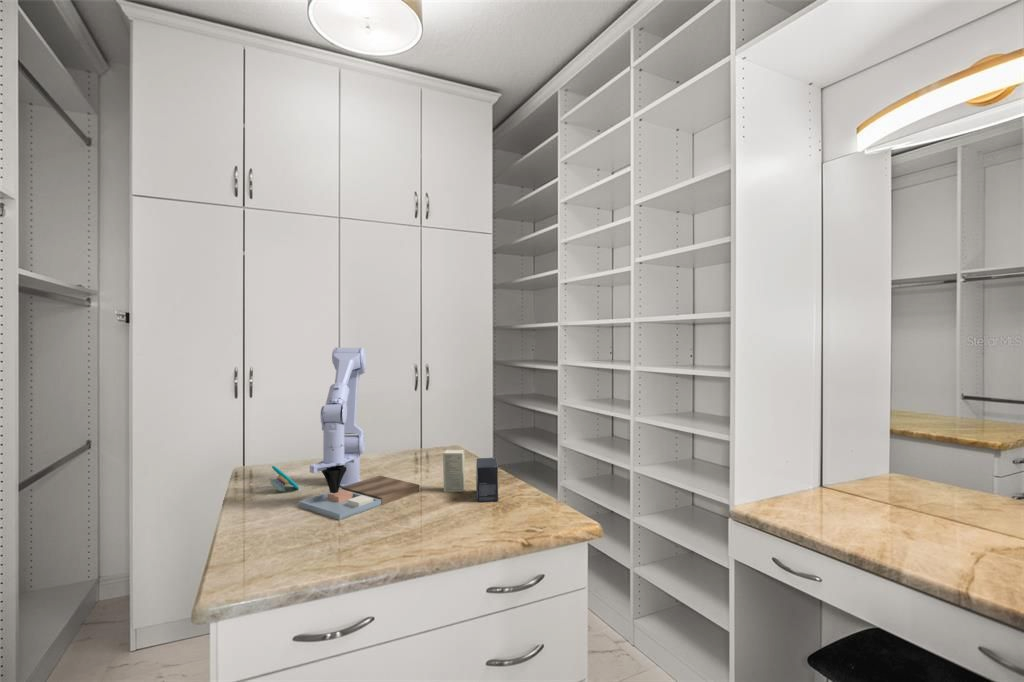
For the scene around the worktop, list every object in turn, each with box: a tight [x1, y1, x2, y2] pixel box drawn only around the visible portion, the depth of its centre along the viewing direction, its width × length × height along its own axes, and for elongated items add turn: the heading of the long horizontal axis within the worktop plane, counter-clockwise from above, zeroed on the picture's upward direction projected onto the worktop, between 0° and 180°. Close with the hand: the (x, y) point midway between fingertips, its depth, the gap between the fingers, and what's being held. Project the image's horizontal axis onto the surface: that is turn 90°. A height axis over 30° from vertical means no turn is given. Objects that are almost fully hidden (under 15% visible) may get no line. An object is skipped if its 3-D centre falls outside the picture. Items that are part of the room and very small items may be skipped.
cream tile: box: [347, 495, 373, 508], centre depth 142 cm, size 5×5×2 cm
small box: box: [475, 457, 499, 503], centre depth 151 cm, size 11×6×10 cm, turn 5°
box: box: [298, 488, 382, 521], centre depth 142 cm, size 18×14×2 cm
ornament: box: [269, 465, 300, 493], centre depth 155 cm, size 11×4×10 cm
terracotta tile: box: [328, 490, 353, 502], centre depth 147 cm, size 5×5×2 cm
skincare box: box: [442, 449, 466, 493], centre depth 157 cm, size 6×4×12 cm
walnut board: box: [340, 475, 421, 506], centre depth 154 cm, size 18×15×2 cm
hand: (334, 492), depth 146 cm, fingers closed
